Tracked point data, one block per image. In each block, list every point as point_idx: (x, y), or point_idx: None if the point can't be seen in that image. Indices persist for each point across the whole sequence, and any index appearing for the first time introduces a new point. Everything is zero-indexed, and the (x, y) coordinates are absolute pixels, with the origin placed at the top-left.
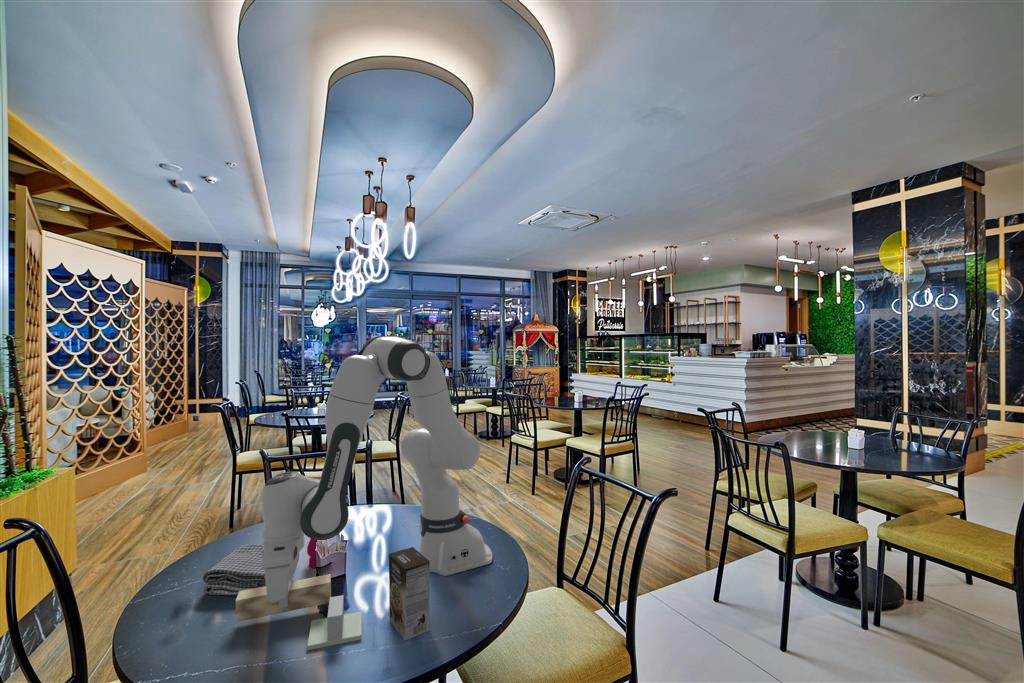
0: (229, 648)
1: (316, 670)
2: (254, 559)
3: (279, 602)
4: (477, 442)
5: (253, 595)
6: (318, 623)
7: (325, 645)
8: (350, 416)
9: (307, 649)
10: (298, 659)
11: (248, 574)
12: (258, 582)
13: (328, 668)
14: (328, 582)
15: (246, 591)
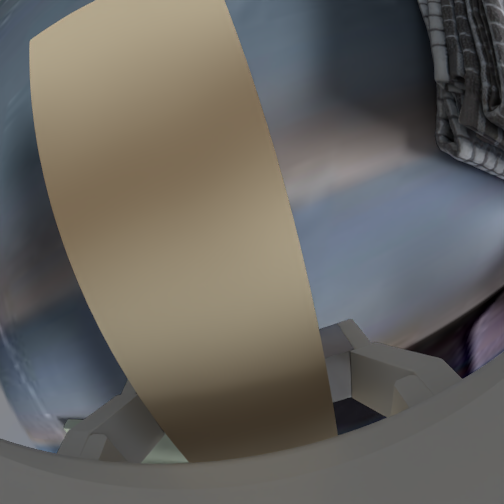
0: (27, 155)
1: (32, 433)
2: None
3: (125, 388)
4: None
5: (76, 167)
6: (163, 443)
7: None
8: None
9: (67, 421)
10: (37, 403)
11: (493, 20)
12: (469, 79)
13: (45, 449)
14: None
15: (187, 23)
